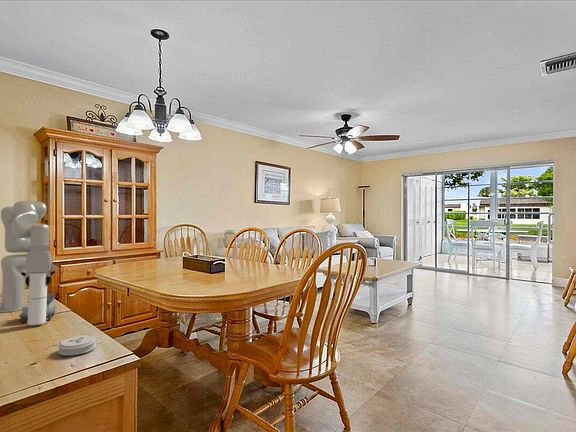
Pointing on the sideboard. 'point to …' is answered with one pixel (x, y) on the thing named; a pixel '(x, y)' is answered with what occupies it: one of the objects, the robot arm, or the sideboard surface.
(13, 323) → the sideboard surface
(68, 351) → the lid
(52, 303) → the grey open box
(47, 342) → the sideboard surface
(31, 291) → the cylindrical container
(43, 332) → the sideboard surface
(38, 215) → the robot arm
